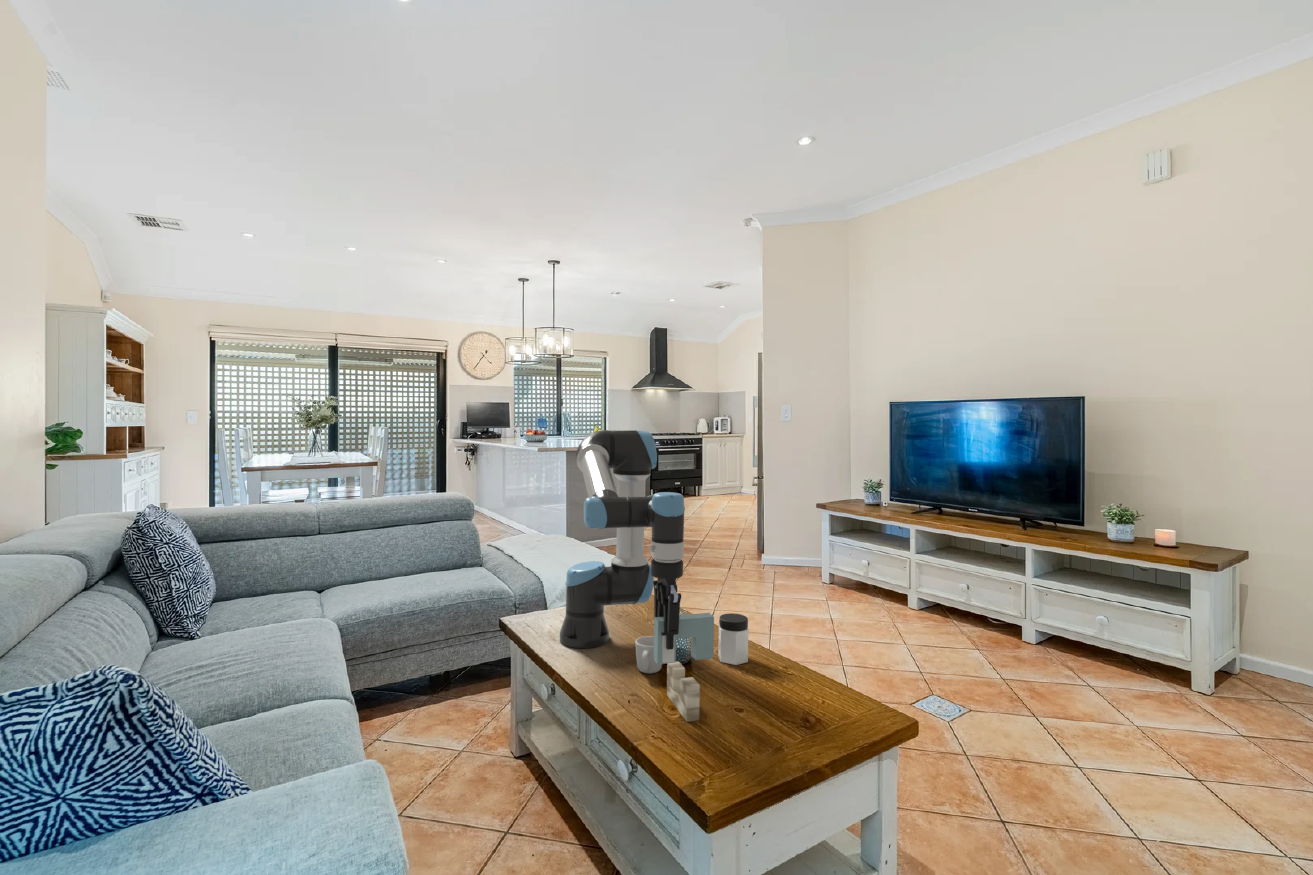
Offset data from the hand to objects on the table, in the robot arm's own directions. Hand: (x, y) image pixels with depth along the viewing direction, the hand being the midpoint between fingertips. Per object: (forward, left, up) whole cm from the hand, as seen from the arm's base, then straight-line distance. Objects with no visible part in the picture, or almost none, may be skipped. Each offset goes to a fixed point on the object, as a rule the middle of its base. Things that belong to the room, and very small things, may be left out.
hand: (665, 658), depth 141 cm
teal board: (0, +5, -1) cm, 5 cm away
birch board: (0, +5, -12) cm, 13 cm away
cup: (-21, +3, -12) cm, 25 cm away
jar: (-23, +29, -12) cm, 39 cm away
